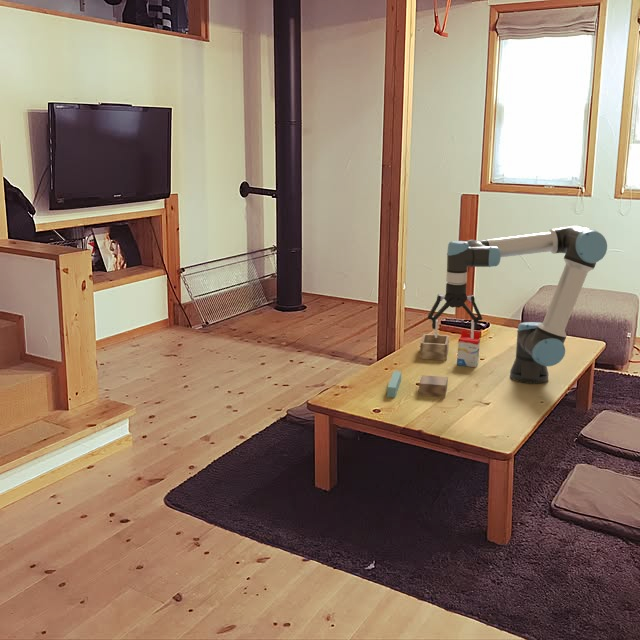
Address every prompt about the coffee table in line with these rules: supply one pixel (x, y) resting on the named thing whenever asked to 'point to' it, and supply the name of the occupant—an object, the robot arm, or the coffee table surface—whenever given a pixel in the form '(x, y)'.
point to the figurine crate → (434, 347)
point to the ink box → (468, 349)
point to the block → (433, 386)
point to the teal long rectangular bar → (394, 384)
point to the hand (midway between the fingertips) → (454, 337)
